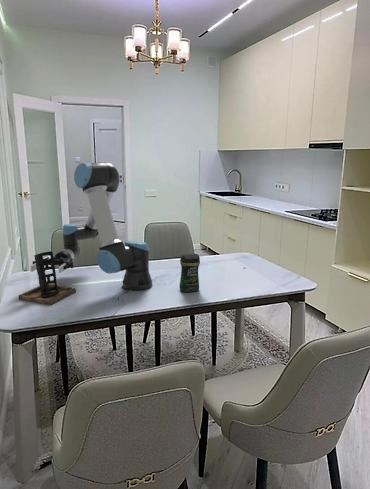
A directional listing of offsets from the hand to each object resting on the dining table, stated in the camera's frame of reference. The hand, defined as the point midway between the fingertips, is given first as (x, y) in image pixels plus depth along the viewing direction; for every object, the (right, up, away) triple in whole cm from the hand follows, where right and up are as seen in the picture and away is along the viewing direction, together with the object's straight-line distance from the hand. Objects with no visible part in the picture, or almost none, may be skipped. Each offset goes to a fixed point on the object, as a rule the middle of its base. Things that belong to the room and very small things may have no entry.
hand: (45, 269), depth 172 cm
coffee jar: (+67, -11, +13) cm, 69 cm away
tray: (0, -13, +3) cm, 13 cm away
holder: (0, -12, +3) cm, 13 cm away
